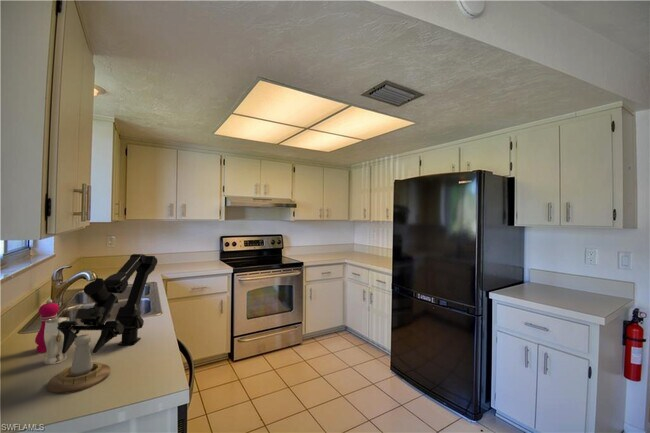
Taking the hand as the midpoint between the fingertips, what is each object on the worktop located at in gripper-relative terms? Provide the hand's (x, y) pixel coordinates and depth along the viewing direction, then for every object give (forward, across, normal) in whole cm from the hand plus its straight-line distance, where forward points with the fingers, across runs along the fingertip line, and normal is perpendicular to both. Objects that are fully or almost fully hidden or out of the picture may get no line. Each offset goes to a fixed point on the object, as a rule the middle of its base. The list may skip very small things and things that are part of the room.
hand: (78, 353), depth 95 cm
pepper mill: (-10, -28, +24) cm, 38 cm away
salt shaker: (+5, 0, +7) cm, 8 cm away
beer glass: (-4, -18, +17) cm, 25 cm away
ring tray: (+6, 0, +8) cm, 9 cm away
